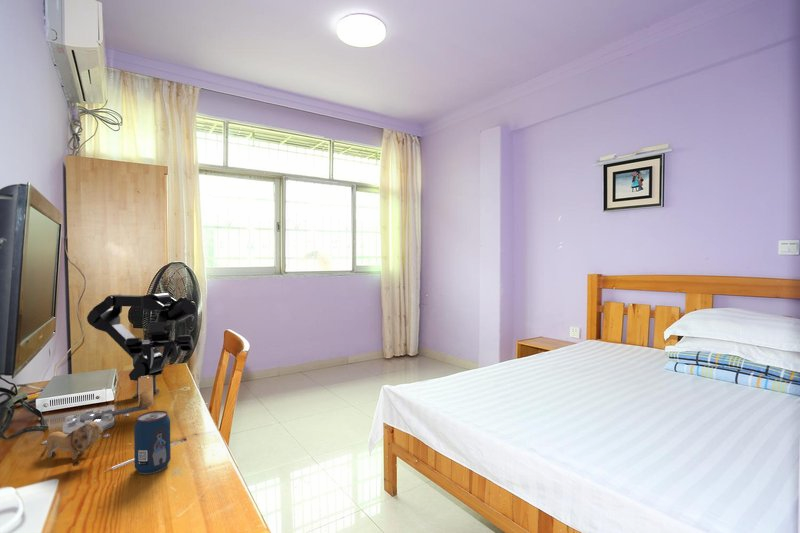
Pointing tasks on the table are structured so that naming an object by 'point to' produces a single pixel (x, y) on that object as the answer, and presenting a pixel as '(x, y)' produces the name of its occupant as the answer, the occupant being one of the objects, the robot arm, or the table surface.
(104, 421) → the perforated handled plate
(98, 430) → the lion figurine
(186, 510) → the table surface
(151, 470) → the soda can
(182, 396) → the table surface
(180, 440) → the pencil
